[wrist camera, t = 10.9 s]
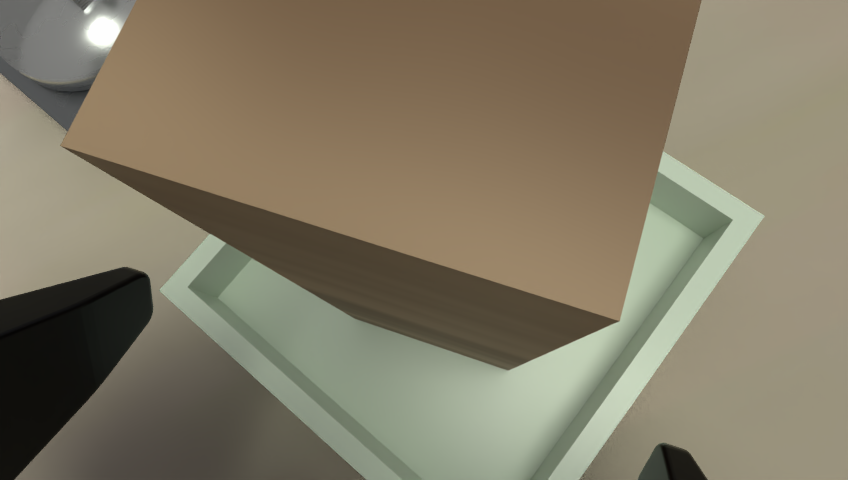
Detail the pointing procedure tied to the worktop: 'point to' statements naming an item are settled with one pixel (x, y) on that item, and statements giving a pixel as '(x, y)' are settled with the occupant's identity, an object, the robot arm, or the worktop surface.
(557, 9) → the block
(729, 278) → the worktop surface
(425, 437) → the tray
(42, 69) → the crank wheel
